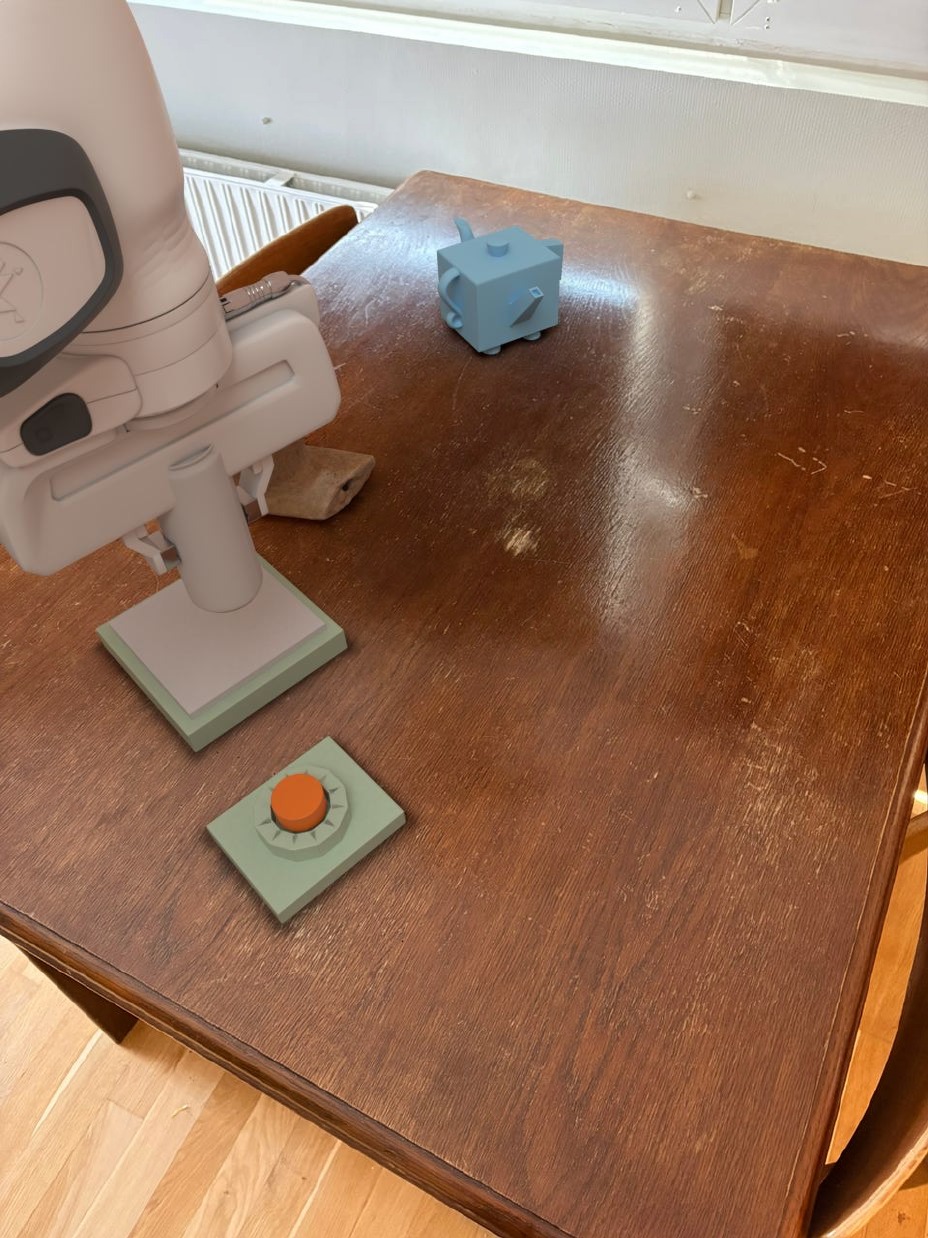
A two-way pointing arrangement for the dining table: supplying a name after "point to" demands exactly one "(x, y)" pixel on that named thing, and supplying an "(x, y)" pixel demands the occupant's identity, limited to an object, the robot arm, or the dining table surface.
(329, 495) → the tan stone pipe
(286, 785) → the button
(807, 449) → the dining table surface
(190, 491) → the beverage can
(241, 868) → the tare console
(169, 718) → the scale
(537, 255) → the teapot
